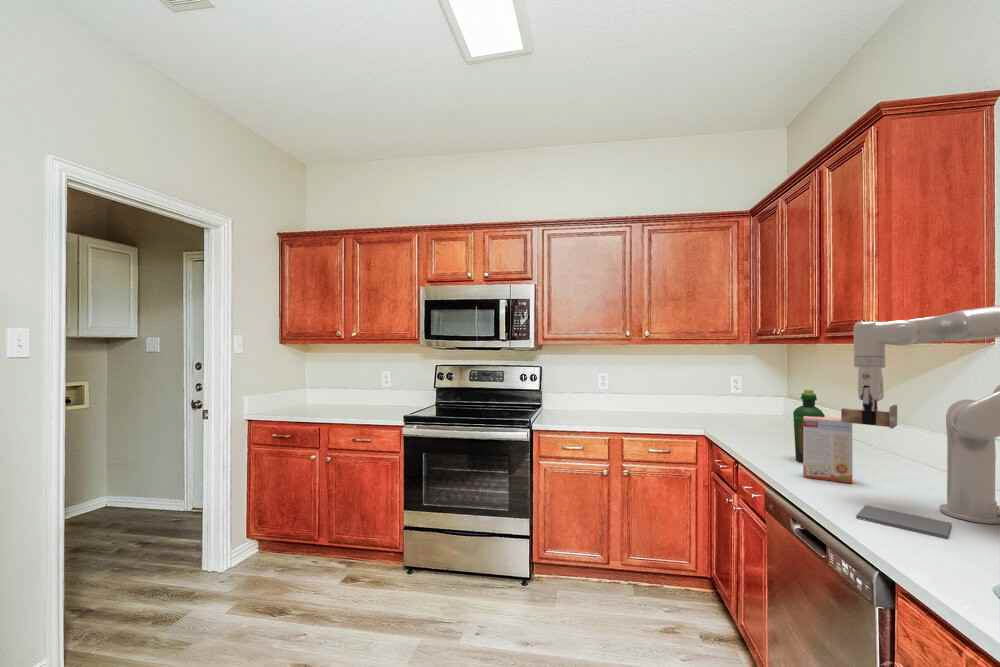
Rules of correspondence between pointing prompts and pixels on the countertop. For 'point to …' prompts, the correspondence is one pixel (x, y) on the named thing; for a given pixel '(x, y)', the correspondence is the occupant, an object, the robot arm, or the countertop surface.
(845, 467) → the cracker box
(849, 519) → the countertop surface
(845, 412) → the tan boxy piece
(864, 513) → the mat
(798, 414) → the bottle
